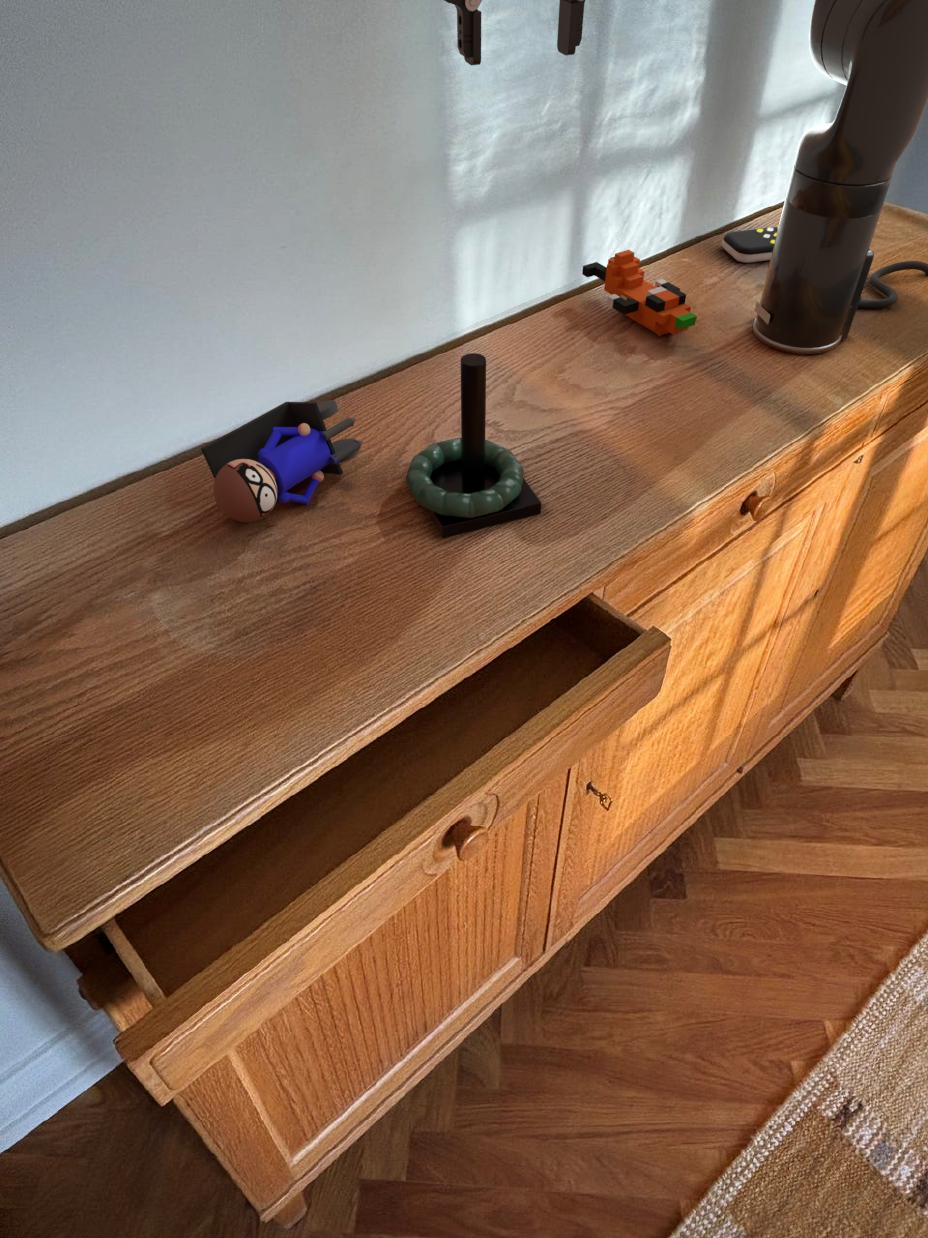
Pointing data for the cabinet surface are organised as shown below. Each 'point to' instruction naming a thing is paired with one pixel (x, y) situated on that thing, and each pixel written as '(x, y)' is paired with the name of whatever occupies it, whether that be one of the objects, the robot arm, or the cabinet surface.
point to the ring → (464, 502)
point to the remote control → (751, 244)
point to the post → (476, 460)
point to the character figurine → (276, 458)
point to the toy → (642, 295)
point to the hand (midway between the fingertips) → (520, 57)
